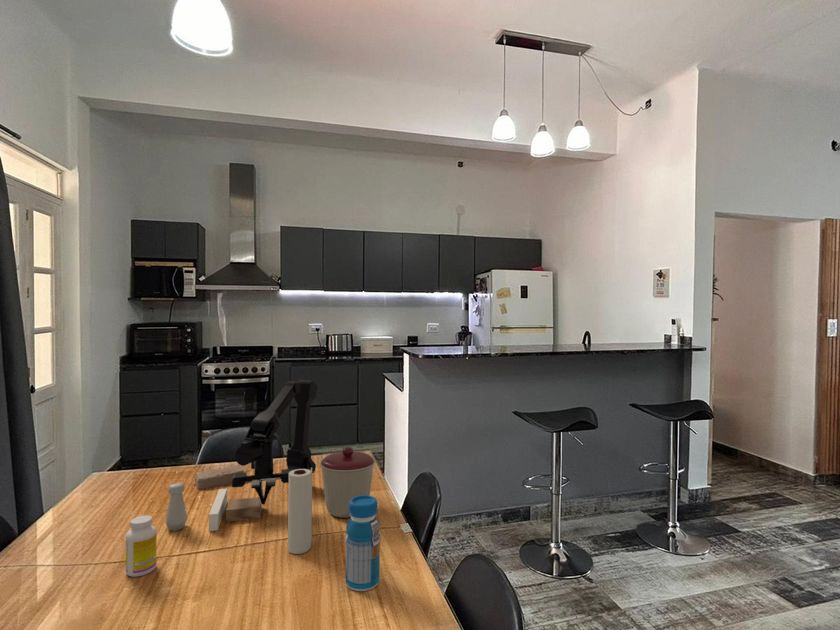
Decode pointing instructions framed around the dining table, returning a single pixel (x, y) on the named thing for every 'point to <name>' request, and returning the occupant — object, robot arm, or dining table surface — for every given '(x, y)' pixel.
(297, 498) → the paper towel roll
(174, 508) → the salt shaker
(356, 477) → the canister
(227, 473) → the brick
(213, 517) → the plank
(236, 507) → the walnut block
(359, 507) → the beverage bottle
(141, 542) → the supplement bottle
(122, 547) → the dining table surface
